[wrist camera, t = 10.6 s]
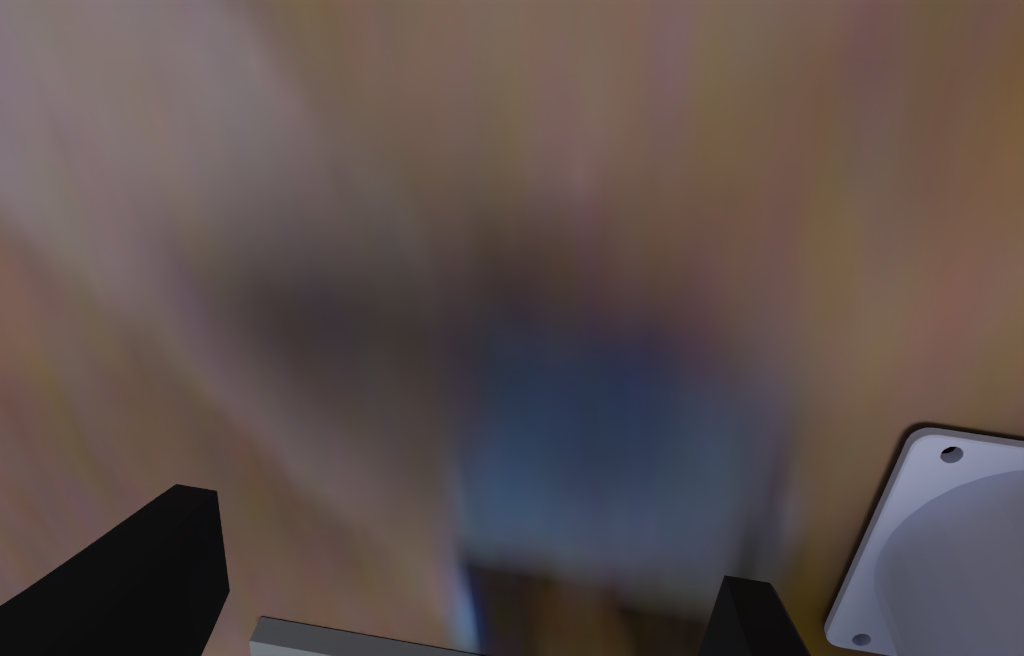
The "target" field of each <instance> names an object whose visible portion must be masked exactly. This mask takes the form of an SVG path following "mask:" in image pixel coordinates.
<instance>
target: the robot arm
mask: <svg viewBox="0 0 1024 656" xmlns="http://www.w3.org/2000/svg"><path fill="white" fill-rule="evenodd" d="M948 447H956V448H955V449H954V451H952V452H950V453H942V451H943V450H944V449H946V448H948ZM229 592H230V590H229V582H228V574H227V566H226V558H225V551H224V543H223V535H222V527H221V520H220V512H219V504H218V496H217V491H214V490H208V489H202V488H196V487H190V486H184V485H178V484H176V485H174V486H173V487H171V488H170V489H168V490H167V491H165V492H164V493H163V494H161V495H160V496H158V497H157V498H155V499H154V500H153V501H151V502H150V503H148V504H147V505H145V506H144V507H143V508H141V509H140V510H138V511H137V512H136V513H134V514H133V515H131V516H130V517H129V518H127V519H126V520H124V521H123V522H122V523H120V524H119V525H117V526H116V527H115V528H113V529H112V530H110V531H109V532H108V533H106V534H105V535H103V536H102V537H100V538H99V539H98V540H96V541H95V542H93V543H92V544H91V545H89V546H88V547H86V548H85V549H84V550H82V551H81V552H79V553H78V554H76V555H75V556H74V557H72V558H71V559H69V560H68V561H66V562H65V563H63V564H62V565H60V566H59V567H58V568H56V569H55V570H53V571H52V572H50V573H49V574H47V575H46V576H44V577H43V578H42V579H40V580H39V581H37V582H36V583H34V584H33V585H31V586H30V587H29V588H27V589H26V590H24V591H23V592H21V593H20V594H18V595H16V596H15V597H13V598H12V599H10V600H9V601H7V602H6V603H4V604H2V605H1V606H0V656H201V655H202V653H203V650H204V648H205V646H206V644H207V642H208V640H209V637H210V635H211V633H212V631H213V629H214V626H215V624H216V622H217V619H218V617H219V615H220V612H221V610H222V608H223V605H224V603H225V601H226V599H227V596H228V594H229ZM824 631H825V634H826V638H827V640H828V642H830V643H831V644H832V645H835V646H838V647H842V648H848V649H854V650H860V651H865V652H871V653H877V654H883V655H889V656H1024V441H1019V440H1012V439H1006V438H999V437H992V436H986V435H979V434H972V433H966V432H959V431H953V430H946V429H939V428H923V429H920V430H917V431H915V432H914V433H912V434H911V435H910V436H909V438H908V439H907V440H906V443H905V445H904V447H903V449H902V452H901V454H900V456H899V458H898V461H897V463H896V465H895V467H894V470H893V472H892V474H891V476H890V479H889V481H888V483H887V485H886V488H885V490H884V492H883V494H882V497H881V499H880V501H879V503H878V506H877V508H876V510H875V512H874V515H873V517H872V519H871V521H870V524H869V526H868V528H867V530H866V533H865V535H864V537H863V539H862V542H861V544H860V546H859V548H858V551H857V553H856V555H855V557H854V560H853V562H852V564H851V566H850V569H849V571H848V573H847V575H846V578H845V580H844V582H843V584H842V587H841V589H840V591H839V593H838V596H837V598H836V600H835V602H834V605H833V607H832V609H831V611H830V614H829V616H828V618H827V620H826V623H825V626H824ZM858 634H861V635H858ZM698 656H811V655H810V653H809V651H808V649H807V648H806V646H805V644H804V642H803V640H802V639H801V637H800V635H799V633H798V631H797V629H796V628H795V626H794V624H793V622H792V620H791V618H790V617H789V615H788V613H787V611H786V609H785V607H784V605H783V604H782V602H781V600H780V598H779V596H778V594H777V592H776V590H775V589H774V588H773V586H772V585H771V584H770V583H767V582H761V581H755V580H749V579H743V578H737V577H731V576H724V579H723V582H722V585H721V588H720V591H719V594H718V597H717V600H716V603H715V606H714V609H713V612H712V615H711V618H710V621H709V624H708V627H707V630H706V633H705V636H704V639H703V642H702V645H701V648H700V651H699V654H698Z"/></svg>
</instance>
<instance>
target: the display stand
mask: <svg viewBox="0 0 1024 656" xmlns="http://www.w3.org/2000/svg"><path fill="white" fill-rule="evenodd" d="M249 643H250V651H251V656H480V655H474V654H469V653H463V652H457V651H452V650H446V649H440V648H435V647H429V646H424V645H418V644H412V643H407V642H401V641H395V640H390V639H384V638H378V637H373V636H367V635H361V634H356V633H350V632H345V631H339V630H333V629H328V628H322V627H316V626H311V625H305V624H299V623H294V622H288V621H283V620H277V619H271V618H266V617H261V619H260V621H259V623H258V625H257V627H256V629H255V631H254V633H253V635H252V637H251V638H250V640H249Z"/></svg>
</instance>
